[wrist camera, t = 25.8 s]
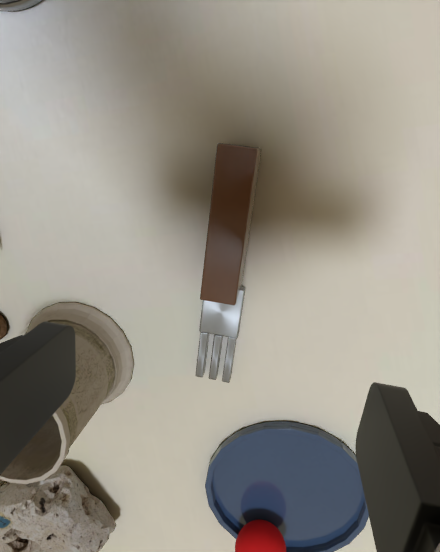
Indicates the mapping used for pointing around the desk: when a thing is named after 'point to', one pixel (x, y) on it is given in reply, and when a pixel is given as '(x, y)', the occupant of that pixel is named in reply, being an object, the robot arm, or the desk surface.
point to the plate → (288, 485)
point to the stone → (53, 516)
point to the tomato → (260, 538)
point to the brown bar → (226, 253)
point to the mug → (76, 388)
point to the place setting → (2, 327)
